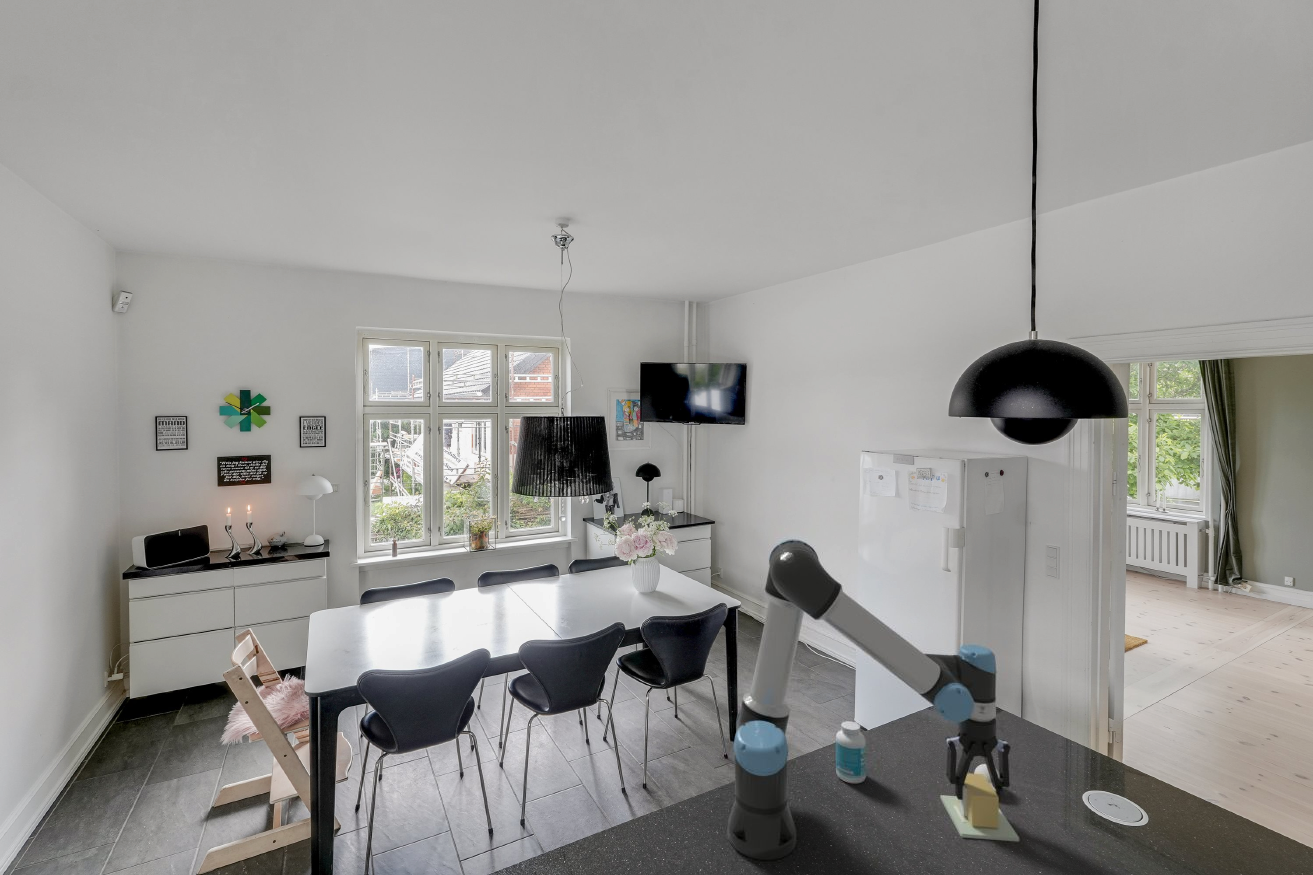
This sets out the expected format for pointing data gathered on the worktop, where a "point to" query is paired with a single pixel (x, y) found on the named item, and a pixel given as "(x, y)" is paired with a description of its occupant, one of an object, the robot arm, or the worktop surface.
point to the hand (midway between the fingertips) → (977, 812)
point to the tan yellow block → (981, 802)
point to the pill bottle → (850, 753)
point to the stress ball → (984, 772)
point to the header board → (971, 831)
